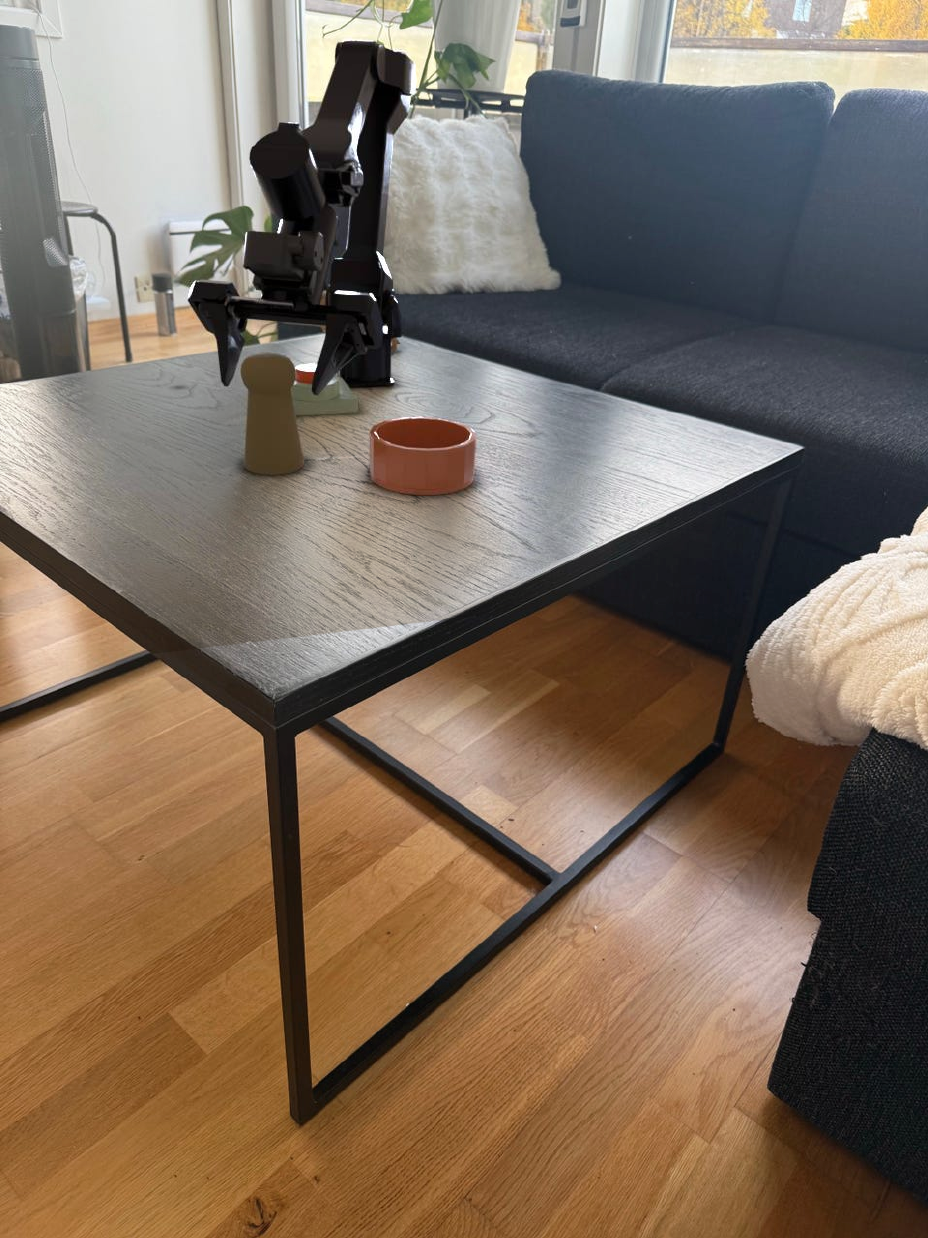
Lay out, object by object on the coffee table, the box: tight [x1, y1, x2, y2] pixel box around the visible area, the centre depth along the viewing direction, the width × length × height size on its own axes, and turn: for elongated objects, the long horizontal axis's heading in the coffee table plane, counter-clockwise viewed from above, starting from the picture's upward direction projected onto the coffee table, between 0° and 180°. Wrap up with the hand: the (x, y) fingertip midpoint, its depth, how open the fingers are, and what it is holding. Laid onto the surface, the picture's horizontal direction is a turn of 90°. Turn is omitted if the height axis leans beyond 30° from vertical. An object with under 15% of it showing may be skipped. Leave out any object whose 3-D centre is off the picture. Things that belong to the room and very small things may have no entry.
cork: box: [240, 352, 305, 476], centre depth 88 cm, size 6×6×11 cm
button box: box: [291, 375, 359, 416], centre depth 109 cm, size 10×10×4 cm
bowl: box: [368, 416, 477, 496], centre depth 88 cm, size 10×10×4 cm
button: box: [295, 363, 317, 384], centre depth 106 cm, size 4×4×2 cm
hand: (269, 388), depth 86 cm, fingers open, 9 cm apart
